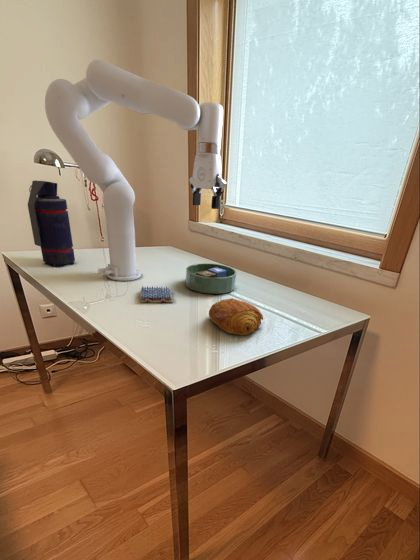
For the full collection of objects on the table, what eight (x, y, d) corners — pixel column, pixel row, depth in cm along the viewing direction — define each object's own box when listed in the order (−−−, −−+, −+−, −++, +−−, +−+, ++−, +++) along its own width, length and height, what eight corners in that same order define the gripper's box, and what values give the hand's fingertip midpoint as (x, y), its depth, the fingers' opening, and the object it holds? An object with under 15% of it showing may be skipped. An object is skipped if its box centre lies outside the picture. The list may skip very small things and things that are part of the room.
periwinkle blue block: (216, 285, 117) (217, 272, 115) (206, 282, 120) (207, 268, 118) (225, 283, 120) (226, 270, 118) (216, 280, 123) (217, 266, 121)
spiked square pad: (139, 303, 100) (139, 297, 99) (140, 291, 109) (140, 285, 108) (173, 303, 101) (173, 297, 100) (171, 291, 110) (171, 286, 109)
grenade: (64, 258, 138) (51, 179, 123) (81, 263, 132) (70, 182, 117) (33, 263, 128) (15, 179, 113) (50, 270, 122) (33, 182, 107)
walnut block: (205, 290, 113) (205, 276, 110) (195, 286, 116) (196, 272, 113) (215, 287, 116) (216, 273, 113) (205, 283, 119) (206, 270, 116)
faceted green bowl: (209, 298, 107) (210, 281, 104) (175, 283, 118) (176, 267, 115) (244, 288, 118) (246, 272, 115) (210, 275, 129) (211, 261, 126)
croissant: (223, 346, 83) (227, 321, 79) (201, 315, 94) (203, 291, 89) (270, 337, 89) (276, 313, 84) (244, 309, 100) (248, 286, 95)
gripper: (183, 148, 107) (181, 203, 116) (219, 149, 97) (215, 210, 105) (199, 150, 112) (197, 203, 121) (236, 152, 102) (230, 210, 110)
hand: (205, 206), depth 113 cm, fingers open, 9 cm apart
